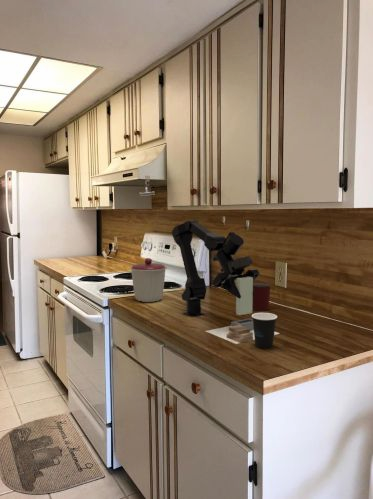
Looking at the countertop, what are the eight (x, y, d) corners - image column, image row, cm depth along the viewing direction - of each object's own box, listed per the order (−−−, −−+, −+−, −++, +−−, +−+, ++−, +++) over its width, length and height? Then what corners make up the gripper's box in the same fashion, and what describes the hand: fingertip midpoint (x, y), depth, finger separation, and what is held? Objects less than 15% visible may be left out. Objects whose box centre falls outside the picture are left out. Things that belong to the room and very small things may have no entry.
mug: (242, 306, 188) (242, 282, 187) (258, 304, 192) (258, 281, 191) (257, 312, 177) (257, 287, 176) (274, 310, 181) (274, 285, 180)
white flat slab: (205, 334, 146) (205, 322, 145) (247, 325, 156) (247, 314, 156) (236, 347, 131) (236, 334, 131) (279, 336, 142) (280, 325, 142)
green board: (236, 314, 146) (236, 278, 145) (248, 311, 149) (249, 276, 148) (239, 315, 144) (240, 279, 143) (252, 312, 148) (252, 277, 146)
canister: (124, 299, 204) (123, 257, 202) (154, 295, 215) (154, 255, 213) (142, 306, 190) (141, 261, 188) (174, 301, 200) (173, 258, 198)
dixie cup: (277, 346, 132) (277, 313, 131) (276, 354, 124) (276, 319, 123) (252, 344, 134) (252, 311, 133) (250, 352, 126) (250, 318, 125)
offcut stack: (226, 337, 138) (226, 327, 138) (239, 334, 141) (239, 324, 141) (240, 343, 132) (240, 332, 132) (254, 339, 135) (254, 329, 135)
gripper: (217, 250, 143) (237, 286, 135) (256, 247, 153) (277, 280, 145) (204, 269, 150) (222, 305, 142) (242, 266, 160) (261, 298, 152)
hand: (247, 296), depth 145 cm, fingers closed on green board, 6 cm apart
